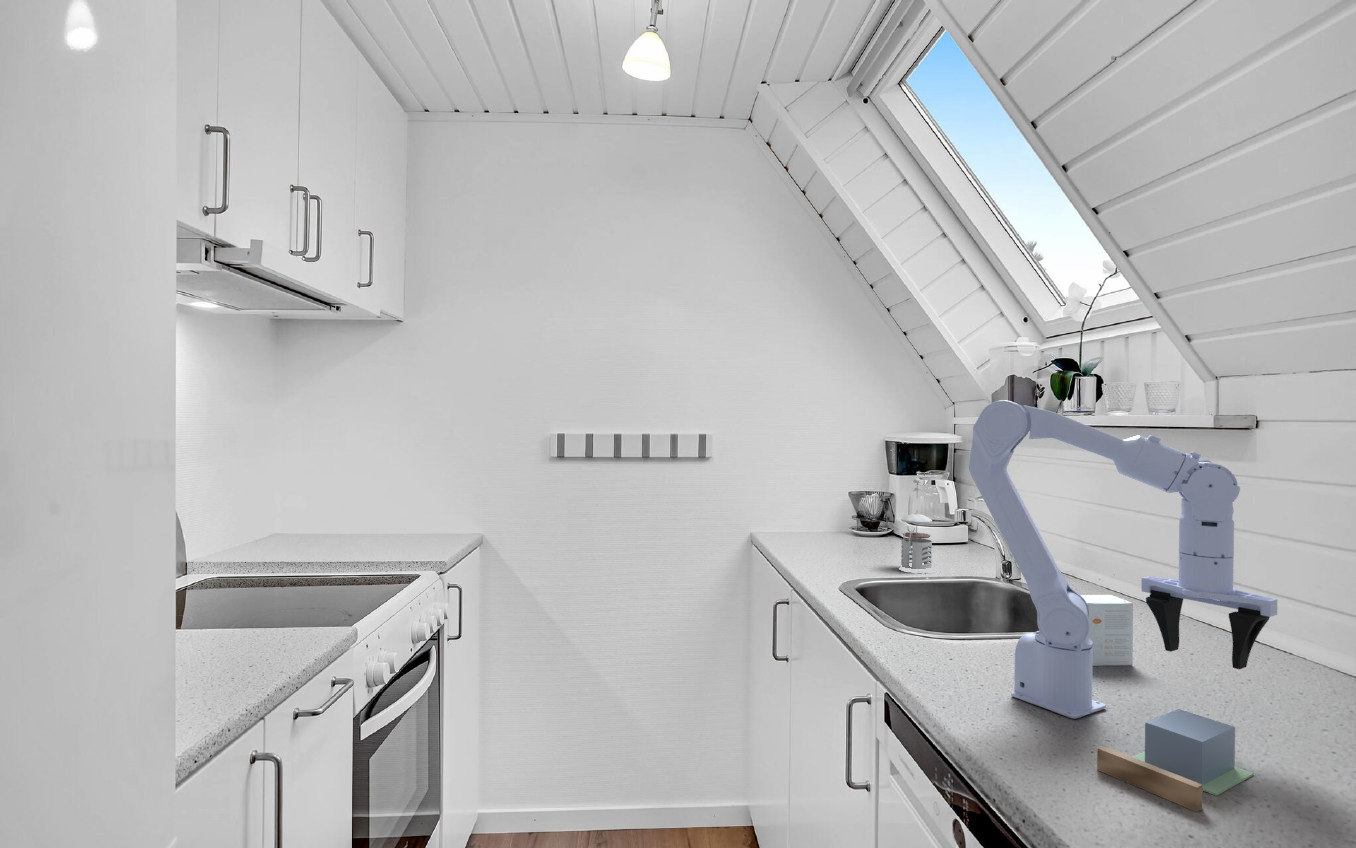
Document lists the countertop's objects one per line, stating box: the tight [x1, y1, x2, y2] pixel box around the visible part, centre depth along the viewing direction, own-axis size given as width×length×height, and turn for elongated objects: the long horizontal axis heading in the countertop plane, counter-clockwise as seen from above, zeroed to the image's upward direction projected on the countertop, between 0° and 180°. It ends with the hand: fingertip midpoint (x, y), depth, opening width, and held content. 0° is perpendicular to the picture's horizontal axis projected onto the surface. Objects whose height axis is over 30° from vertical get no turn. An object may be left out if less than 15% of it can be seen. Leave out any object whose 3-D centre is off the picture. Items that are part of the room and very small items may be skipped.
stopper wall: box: [1096, 745, 1203, 813], centre depth 77 cm, size 10×1×2 cm, turn 30°
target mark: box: [1132, 750, 1255, 796], centre depth 81 cm, size 9×9×1 cm
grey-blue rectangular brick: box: [1144, 708, 1236, 785], centre depth 81 cm, size 6×8×5 cm
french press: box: [900, 477, 933, 569], centre depth 190 cm, size 10×12×25 cm
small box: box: [1080, 594, 1134, 667], centre depth 119 cm, size 8×6×10 cm
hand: (1204, 658), depth 91 cm, fingers open, 7 cm apart
